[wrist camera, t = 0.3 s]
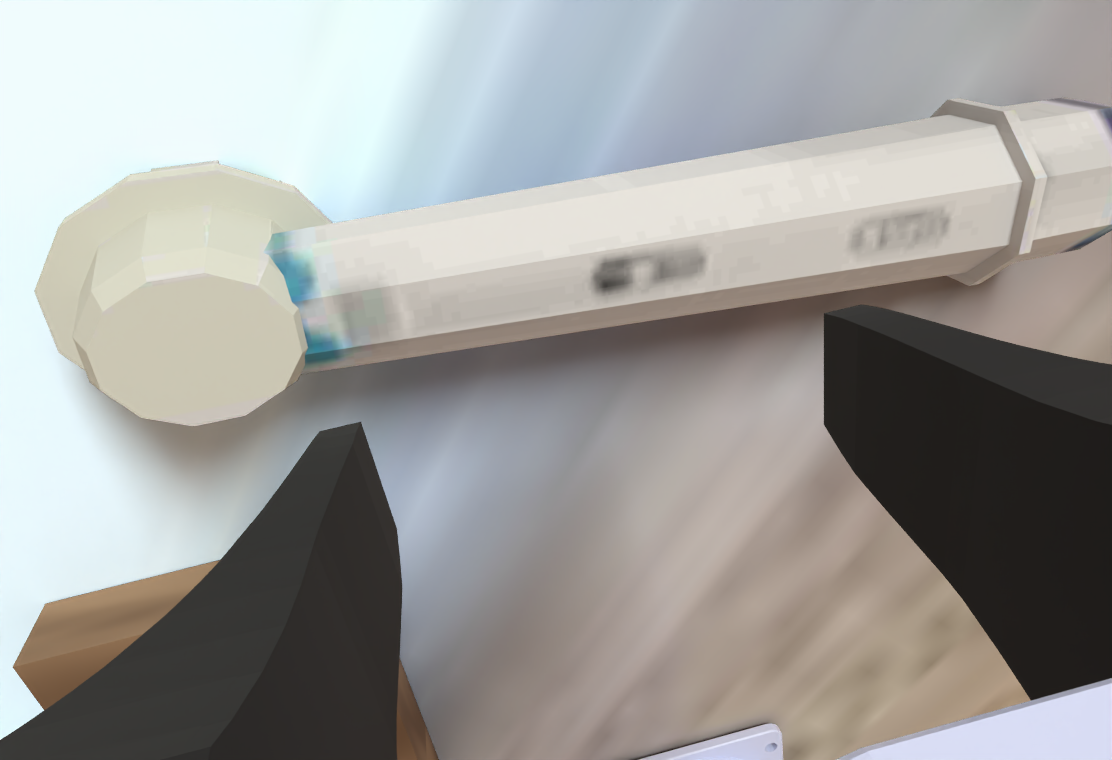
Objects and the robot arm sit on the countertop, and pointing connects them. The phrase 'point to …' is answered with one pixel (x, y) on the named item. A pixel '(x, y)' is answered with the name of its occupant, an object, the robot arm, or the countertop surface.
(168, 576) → the socket board
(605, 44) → the countertop surface
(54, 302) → the cream knobbed rod
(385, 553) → the robot arm
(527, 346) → the countertop surface
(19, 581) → the countertop surface
